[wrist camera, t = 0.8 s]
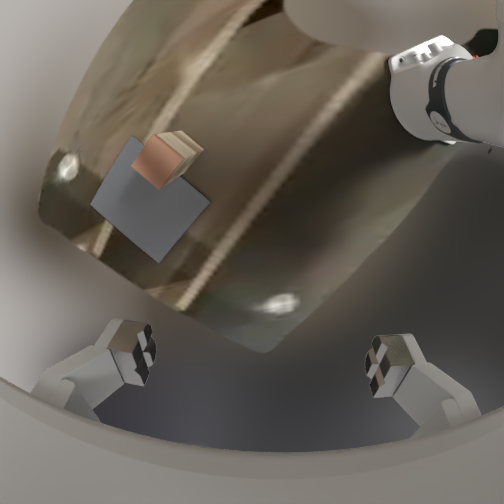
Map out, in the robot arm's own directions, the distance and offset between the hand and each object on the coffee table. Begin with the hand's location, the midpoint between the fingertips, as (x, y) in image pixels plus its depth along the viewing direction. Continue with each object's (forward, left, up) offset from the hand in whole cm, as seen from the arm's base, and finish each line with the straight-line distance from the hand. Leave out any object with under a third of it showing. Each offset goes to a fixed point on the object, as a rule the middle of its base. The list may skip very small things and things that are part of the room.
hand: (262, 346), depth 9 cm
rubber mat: (+19, -12, -38) cm, 44 cm away
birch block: (+7, -12, -38) cm, 40 cm away
